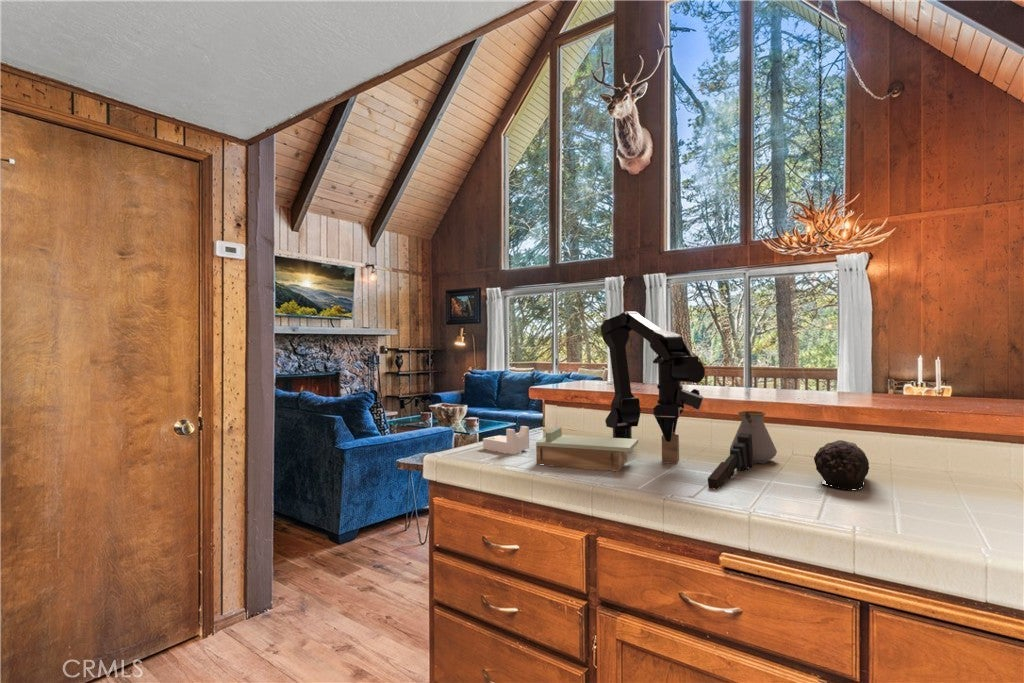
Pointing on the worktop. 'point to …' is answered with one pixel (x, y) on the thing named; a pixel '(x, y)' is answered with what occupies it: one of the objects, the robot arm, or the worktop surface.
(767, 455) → the coffee pot
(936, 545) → the worktop surface
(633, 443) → the lid
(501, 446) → the bracket
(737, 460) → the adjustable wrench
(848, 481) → the pine cone
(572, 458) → the brown box
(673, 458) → the brown stepped square block
